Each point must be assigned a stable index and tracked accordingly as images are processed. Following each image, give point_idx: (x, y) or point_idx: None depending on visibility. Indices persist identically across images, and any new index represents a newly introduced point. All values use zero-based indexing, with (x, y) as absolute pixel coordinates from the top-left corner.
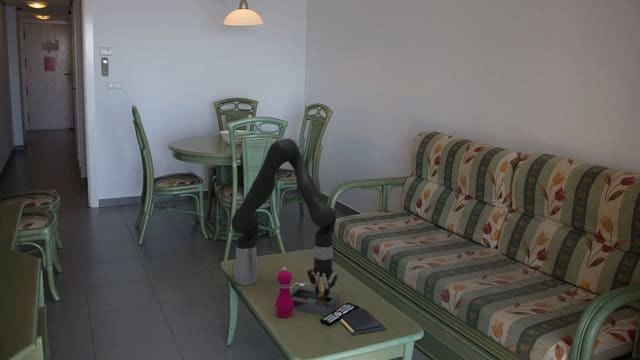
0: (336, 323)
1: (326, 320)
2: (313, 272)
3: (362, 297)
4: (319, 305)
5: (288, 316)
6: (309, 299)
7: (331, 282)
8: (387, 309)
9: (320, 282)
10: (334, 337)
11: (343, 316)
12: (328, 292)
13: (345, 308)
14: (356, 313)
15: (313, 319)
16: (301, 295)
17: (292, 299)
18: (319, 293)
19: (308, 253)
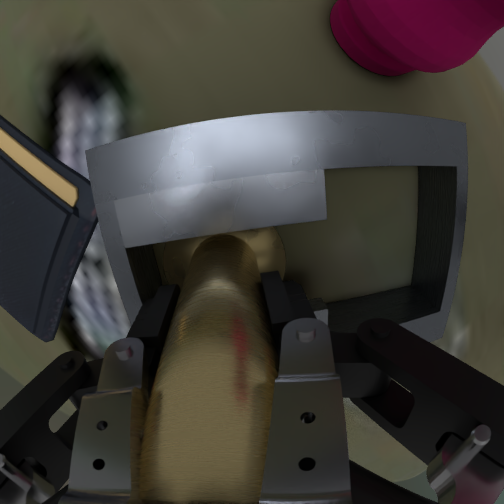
0: (35, 113)
1: (90, 98)
2: (438, 484)
3: None
4: (155, 133)
5: (334, 6)
6: (311, 193)
7: (36, 406)
8: (12, 367)
9: (215, 380)
10: (11, 17)
11: (22, 187)
12: (136, 319)
13: (99, 308)
14: (5, 262)
15: (168, 52)
16: (405, 294)
17: (391, 2)
18: (232, 274)
19: (421, 468)
